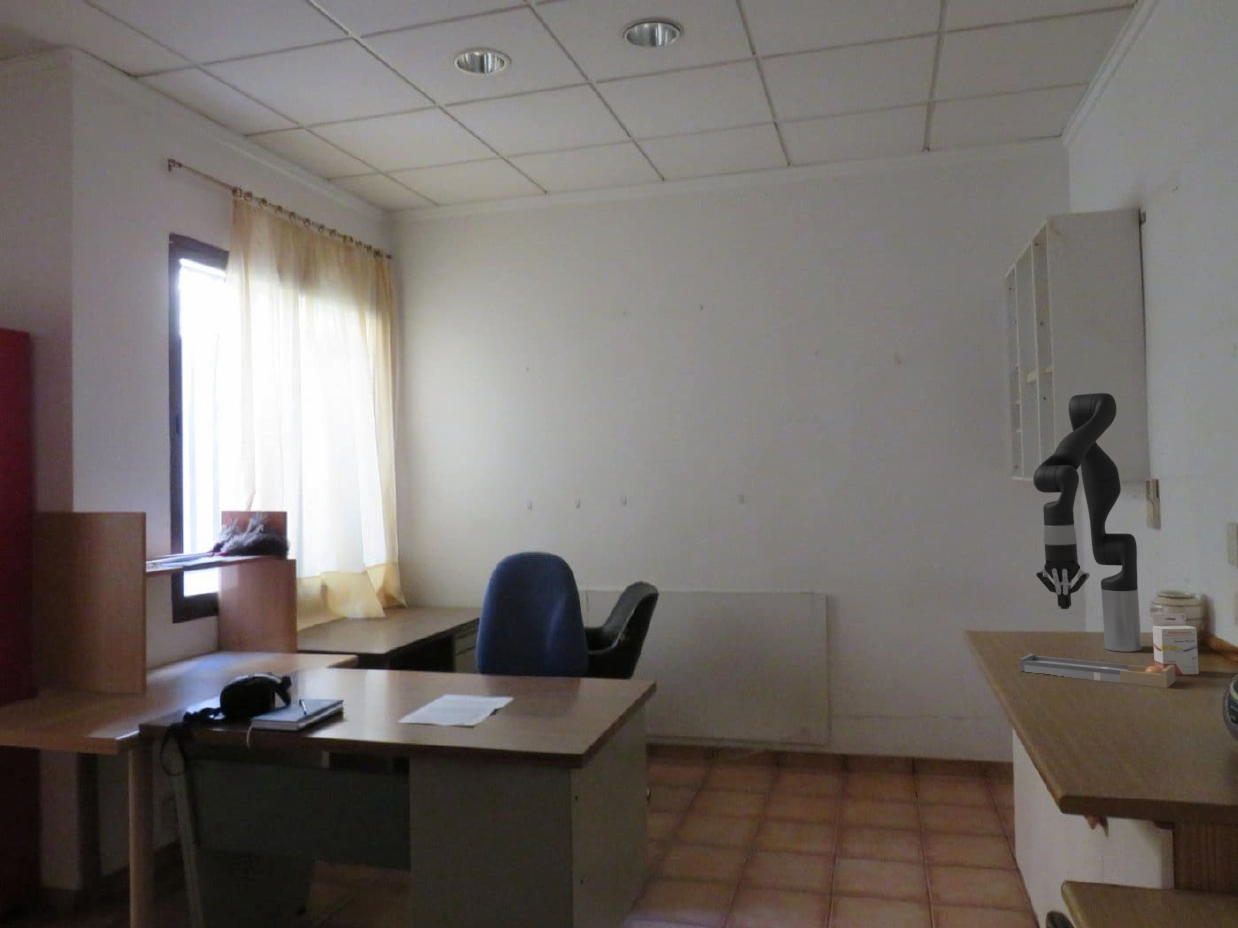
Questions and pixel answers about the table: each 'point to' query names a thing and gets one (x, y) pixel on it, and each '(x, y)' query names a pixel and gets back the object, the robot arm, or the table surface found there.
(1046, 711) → the table surface
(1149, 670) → the ball
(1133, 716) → the table surface
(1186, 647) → the ink cartridge box
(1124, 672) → the lane
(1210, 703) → the table surface
